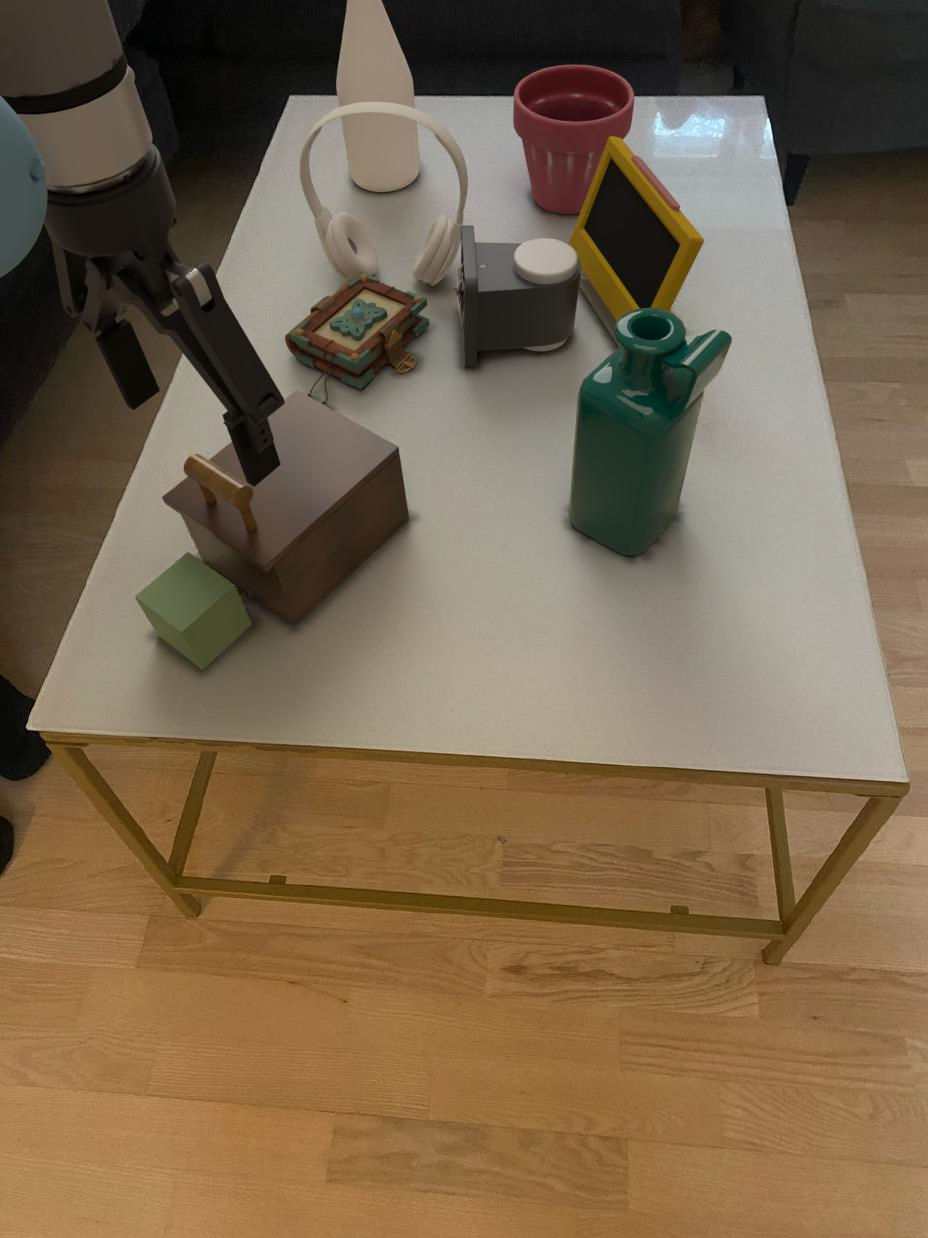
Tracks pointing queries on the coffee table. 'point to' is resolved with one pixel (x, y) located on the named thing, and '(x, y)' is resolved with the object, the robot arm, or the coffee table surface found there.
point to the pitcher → (640, 428)
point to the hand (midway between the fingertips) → (201, 434)
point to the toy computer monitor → (631, 238)
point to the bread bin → (317, 548)
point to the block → (194, 610)
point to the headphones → (347, 234)
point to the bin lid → (282, 481)
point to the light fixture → (516, 294)
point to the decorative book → (359, 331)
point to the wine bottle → (376, 100)
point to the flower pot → (569, 129)
